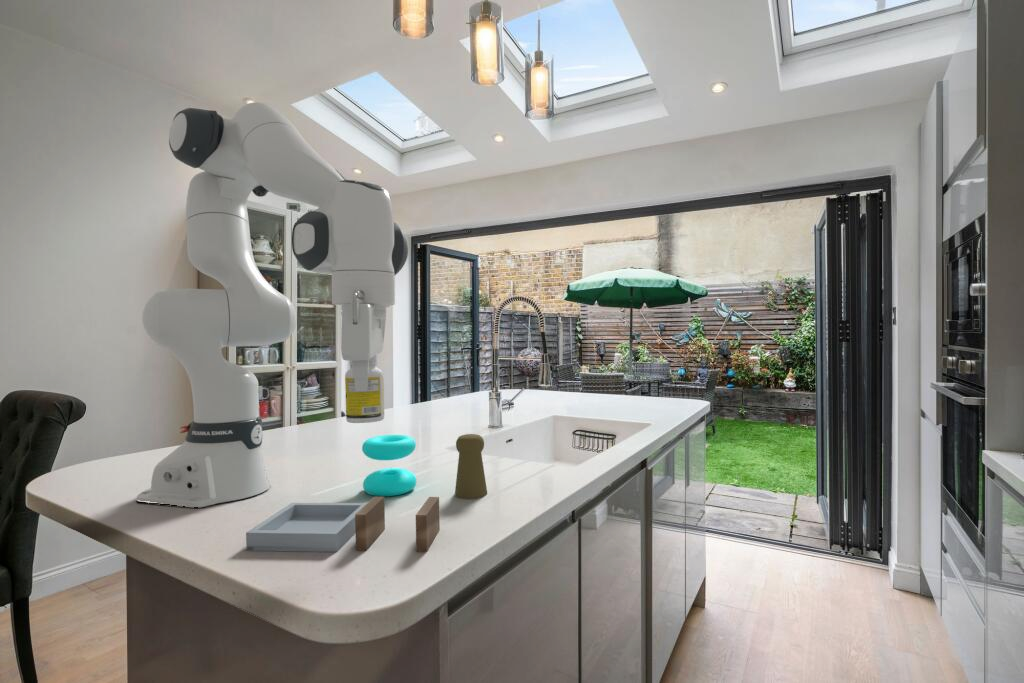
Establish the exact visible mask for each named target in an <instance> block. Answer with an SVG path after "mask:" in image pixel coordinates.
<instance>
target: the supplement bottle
mask: <svg viewBox="0 0 1024 683" xmlns="http://www.w3.org/2000/svg"><path fill="white" fill-rule="evenodd" d="M377 364H379V356H378V354H376V355H375V356H374V357H372V358H371V359H369V370H368V377H369V388H368V389H367V390H366V391H356V390H355V379H354V374H353V369H352V361H349V365H350V369H348V370H347V371H346V372H345V374H344V377H345V378H344V381H345V383H344V384H345V388H344V389H345V411H346V412H345V415H346V416H345V418H346V422H347V423H351V424H364V423H365V424H369V423H370V424H371V423H376V422H381V421H383V420H384V419H385V393H384V392H385V391H384V389H385V388H384V373H383V371H382V369H380V368H378V367H377Z"/></svg>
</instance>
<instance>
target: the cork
mask: <svg viewBox="0 0 1024 683" xmlns="http://www.w3.org/2000/svg"><path fill="white" fill-rule="evenodd" d="M455 447H456V451H457V452H458V463H457V472H456V480H455V488H454V496H455V497H456V498H459V499H464V500H465V499H466V500H474V499H475V500H476V499H481V498H483V497H486V496H487V495H488V489H487V481H486V475H485V468H484V467H485V466H484V461H483V455H482V452H483V450H484V447H485V440H484V438H483V436H482V435H480V434H477V433H466V434H462V435H459V436H458V437H457V439H456V441H455Z"/></svg>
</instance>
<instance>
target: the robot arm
mask: <svg viewBox="0 0 1024 683" xmlns="http://www.w3.org/2000/svg"><path fill="white" fill-rule="evenodd" d="M168 131H169V133H168V143H169V144H168V145H169V149H170V151H171V153H172V155H173V156H174V158H175V159H176V160H178V161H179V162H181V163H183V164H184V165H187V166H189V167H190V168H193V169H197V168H198V169H200V170H202V171H201V172H198V173H196V174H195V175H194V176H193V177H192V178H191V180H190V181H189V184H188V185H189V186H188V190H187V197H186V205H185V226H186V227H185V228H186V229H185V230H186V243H187V244H186V245H187V246H186V248H187V249H186V250H187V258H188V260H189V262H190V263H191V265H192V266H193V267H194V268H196V270H197V271H199V272H200V273H202V274H203V275H206V276H208V277H210V278H211V279H214V280H216V281H217V282H218V283H220V284H221V285H222V286H223V288H224V289H214V288H213V289H212V288H211V289H210V288H208V289H207V288H179V289H177V288H176V289H171V290H169V289H168V290H164V291H158V292H156V293H154V294H152V295H151V297H149V299H148V300H147V302H146V303H145V305H144V307H143V310H142V318H141V319H142V324H143V328H144V330H145V332H146V334H147V335H148V337H149V339H151V340H152V341H153V342H154V343H156V345H157V344H158V345H159V346H161V347H163V348H164V349H165V350H167V351H168V352H170V353H171V354H172V355H173V356H174V357H175V358H176V359H177V360H178V362H180V364H181V365H182V367H183V368H184V369H185V372H186V374H187V376H188V379H189V382H190V386H191V387H190V388H191V394H192V402H193V421H191V422H190V423H188V425H183V426H181V427H179V429H182V430H181V431H179V433H180V434H184V433H187V434H186V436H185V438H184V440H185V441H184V442H183V443H182V444H181V445H179V446H177V448H176V449H174V450H173V451H172V452H170V453H169V454H168V455H167V456H165V457H164V458H162V459H161V460H160V461H159V462H158V463H157V464H156V465H155V467H154V469H153V471H152V477H151V480H150V481H151V485H150V488H147V489H145V490H144V491H142V492H140V493H139V494H137V496H136V499H135V501H136V500H140V501H150V502H157V503H163V504H170V505H169V506H171V505H177V506H176V507H183V506H185V507H184V508H194V507H198V508H203V507H209V506H212V505H216V504H221V503H226V502H232V501H238V500H242V499H246V498H250V497H253V496H257V495H259V494H262V493H263V492H266V491H268V490H269V489H270V488H271V484H270V481H269V477H268V475H267V472H266V467H265V462H264V457H263V451H262V450H263V449H262V444H263V418H262V416H261V415H260V396H259V393H260V392H259V390H260V389H259V386H260V385H259V380H258V378H257V376H256V375H255V374H254V372H252V370H249V369H248V368H245V367H243V366H242V365H238V364H236V363H233V362H230V361H228V360H227V359H226V358H225V357H224V355H223V352H222V350H223V348H226V347H262V346H268V345H273V344H277V343H282V342H286V341H287V340H288V339H290V337H291V336H292V334H294V331H295V329H296V326H297V320H298V318H297V312H296V308H295V306H294V304H293V302H292V301H291V300H290V299H289V298H288V296H286V295H284V294H283V293H281V292H279V291H278V290H277V289H276V288H274V287H273V286H272V285H271V284H270V283H269V282H268V281H267V280H266V279H265V278H264V276H263V275H262V273H261V272H260V270H259V268H258V266H257V264H256V261H255V258H254V253H253V247H252V241H251V240H252V239H251V232H250V220H249V213H248V199H249V196H250V194H251V192H252V193H253V195H255V196H257V197H259V198H263V197H265V196H266V195H267V194H268V193H271V194H273V195H275V196H278V197H282V198H286V199H289V200H292V201H297V202H299V203H304V204H308V205H310V206H313V207H316V209H315V210H310V211H307V212H305V213H304V214H303V215H302V216H300V218H298V219H297V221H295V223H294V224H293V227H292V232H291V249H292V254H293V255H294V257H295V259H296V261H297V262H298V263H299V265H301V267H303V269H305V270H306V271H310V272H313V273H316V274H326V275H331V305H335V306H341V308H340V310H341V311H340V312H341V332H340V335H341V337H340V340H341V341H340V342H341V344H340V350H341V351H340V352H341V357H342V360H344V361H349V362H350V361H352V366H351V368H352V369H353V374H354V379H355V390H356V391H366V390H367V389H368V388H369V377H368V370H369V359H371V358H372V357H374V356H375V355H376V354H377V355H378V354H380V353H381V352H382V351H383V348H384V340H385V330H386V321H387V319H386V318H387V308H389V307H390V306H394V305H395V304H396V299H395V297H396V294H395V293H396V292H395V290H396V289H395V284H396V283H395V276H396V275H398V273H400V271H401V270H402V269H403V267H404V265H405V264H406V263H407V260H408V256H409V255H408V254H409V245H408V242H407V239H406V237H405V234H404V232H403V230H402V228H400V226H399V225H398V224H397V223H396V222H394V221H395V220H394V212H393V204H392V200H391V197H390V194H389V192H388V190H386V189H385V188H384V187H382V186H380V185H378V184H374V183H371V182H366V181H359V180H352V179H348V178H346V177H345V176H344V175H343V174H341V173H340V172H339V171H338V170H337V169H336V168H334V166H332V165H331V164H330V163H328V161H326V160H325V159H324V158H323V157H322V156H321V155H320V154H319V153H318V152H316V150H314V148H313V147H311V145H310V144H309V143H308V142H307V141H306V140H305V139H304V137H303V136H302V134H301V133H300V131H299V130H298V129H297V128H296V126H295V125H294V124H293V122H292V121H290V120H289V118H287V116H285V115H284V114H283V113H282V112H281V111H279V110H278V109H277V108H276V107H274V106H272V105H270V104H268V103H265V102H258V101H257V102H256V101H254V102H249V103H247V104H244V105H242V106H241V107H240V108H239V109H238V110H237V112H236V113H235V114H234V116H233V118H229V117H226V116H223V115H220V114H219V113H218V111H216V110H213V109H212V110H210V109H209V110H208V109H204V108H203V109H202V108H195V107H194V108H193V107H187V108H184V109H182V110H180V111H179V112H177V113H176V114H175V115H174V117H173V120H172V121H171V124H170V126H169V130H168Z"/></svg>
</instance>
